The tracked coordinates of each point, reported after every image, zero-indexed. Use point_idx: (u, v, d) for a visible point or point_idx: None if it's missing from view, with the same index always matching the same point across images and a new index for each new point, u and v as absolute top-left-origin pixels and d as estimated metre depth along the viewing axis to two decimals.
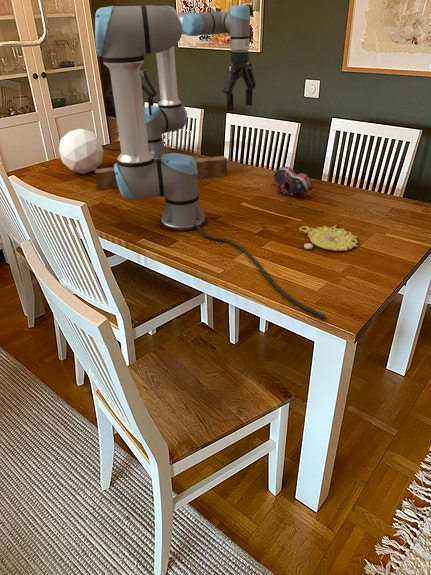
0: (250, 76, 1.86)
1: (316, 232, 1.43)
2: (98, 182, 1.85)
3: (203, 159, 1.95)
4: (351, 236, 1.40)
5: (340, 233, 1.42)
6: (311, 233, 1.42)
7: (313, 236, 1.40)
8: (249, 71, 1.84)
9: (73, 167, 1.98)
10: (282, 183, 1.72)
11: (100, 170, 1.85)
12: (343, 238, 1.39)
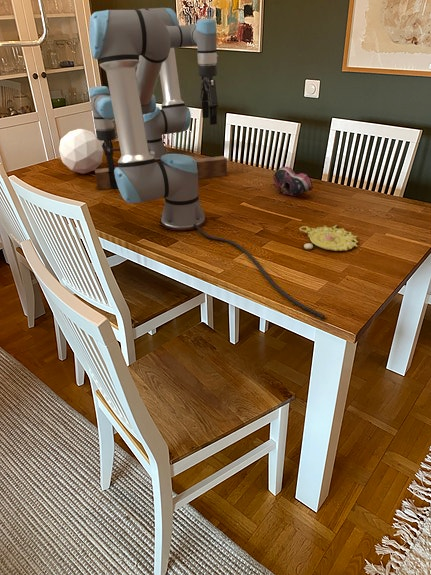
0: None
1: (316, 232, 1.43)
2: (98, 182, 1.85)
3: (203, 159, 1.95)
4: (351, 236, 1.40)
5: (340, 233, 1.42)
6: (311, 233, 1.42)
7: (313, 236, 1.40)
8: None
9: (73, 167, 1.98)
10: (282, 183, 1.72)
11: (100, 170, 1.85)
12: (343, 238, 1.39)
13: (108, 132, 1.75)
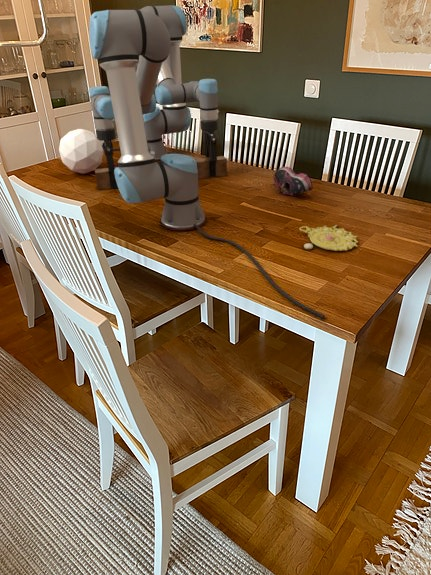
0: None
1: (316, 232, 1.43)
2: (98, 182, 1.85)
3: (203, 159, 1.95)
4: (351, 236, 1.40)
5: (340, 233, 1.42)
6: (311, 233, 1.42)
7: (313, 236, 1.40)
8: None
9: (73, 167, 1.98)
10: (282, 183, 1.72)
11: (100, 170, 1.85)
12: (343, 238, 1.39)
13: (108, 132, 1.75)
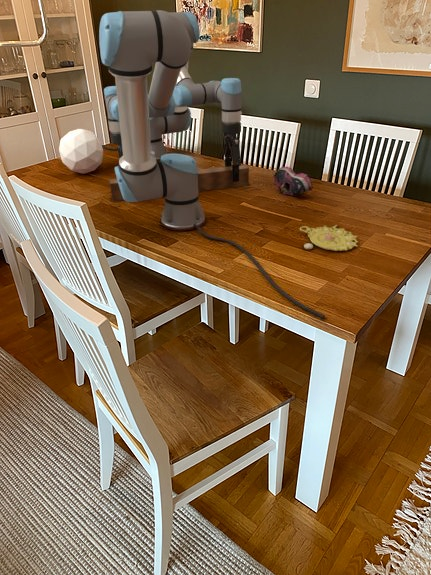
0: None
1: (316, 232, 1.43)
2: (113, 193, 1.73)
3: (224, 168, 1.83)
4: (351, 236, 1.40)
5: (340, 233, 1.42)
6: (311, 233, 1.42)
7: (313, 236, 1.40)
8: None
9: (73, 167, 1.98)
10: (282, 183, 1.72)
11: (115, 180, 1.73)
12: (343, 238, 1.39)
13: None
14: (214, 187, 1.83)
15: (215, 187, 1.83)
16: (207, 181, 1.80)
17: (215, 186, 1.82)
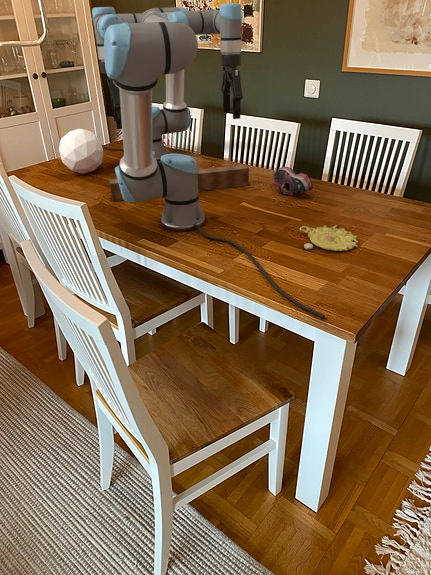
0: None
1: (316, 232, 1.43)
2: (113, 193, 1.73)
3: (224, 168, 1.83)
4: (351, 236, 1.40)
5: (340, 233, 1.42)
6: (311, 233, 1.42)
7: (313, 236, 1.40)
8: None
9: (73, 167, 1.98)
10: (282, 183, 1.72)
11: (115, 180, 1.73)
12: (343, 238, 1.39)
13: None
14: (214, 187, 1.83)
15: (215, 187, 1.83)
16: (207, 181, 1.80)
17: (215, 186, 1.82)
